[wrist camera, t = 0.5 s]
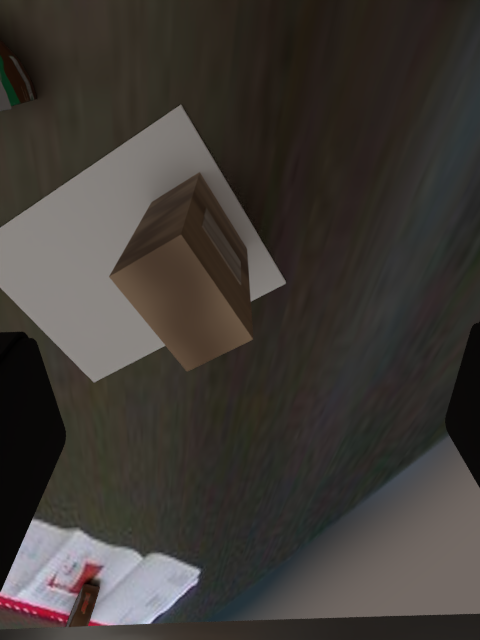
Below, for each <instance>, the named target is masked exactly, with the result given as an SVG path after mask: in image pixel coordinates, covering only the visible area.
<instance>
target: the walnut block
mask: <svg viewBox="0 0 480 640" xmlns="http://www.w3.org/2000/svg"><path fill="white" fill-rule="evenodd" d="M109 278H110V279H111V280H112V281H113V282H114V284H115V285H116V286H117V287H118V289H119V290H120V291H121V292H122V293H123V295H124V296H125V297H126V298H127V299H128V301H129V302H130V303H131V304H132V305H133V307H134V308H135V309H136V310H137V312H138V313H139V314H140V315H141V316H142V318H143V319H144V320H145V321H146V322H147V324H148V325H149V326H150V327H151V329H152V330H153V331H154V332H155V333H156V335H157V336H158V337H159V338H160V339H161V341H162V342H163V343H164V344H165V345H166V347H167V348H168V349H169V350H170V352H171V353H172V354H173V355H174V356H175V358H176V359H177V360H178V361H179V362H180V364H181V365H182V366H183V367H184V369H185V370H186V371H189V370H191V369H193V368H195V367H198V366H200V365H202V364H204V363H206V362H208V361H210V360H212V359H214V358H216V357H218V356H220V355H222V354H224V353H226V352H228V351H230V350H232V349H234V348H236V347H238V346H240V345H242V344H245V343H247V342H249V341H251V340H253V329H252V314H251V299H250V284H249V269H248V254H247V248H246V246H245V245H244V243H243V241H242V240H241V238H240V236H239V235H238V233H237V232H236V230H235V228H234V227H233V225H232V224H231V222H230V220H229V219H228V217H227V215H226V214H225V212H224V211H223V209H222V207H221V206H220V204H219V202H218V201H217V199H216V198H215V196H214V194H213V193H212V191H211V189H210V188H209V186H208V185H207V183H206V181H205V180H204V178H203V176H202V175H201V173H200V172H199V173H197V174H196V175H194V176H192V177H191V178H189V179H188V180H186V181H184V182H183V183H181V184H180V185H178V186H176V187H175V188H173V189H172V190H170V191H168V192H167V193H165V194H164V195H162V196H160V197H159V198H157V199H156V200H154V201H152V202H151V204H150V206H149V207H148V209H147V211H146V213H145V214H144V216H143V218H142V220H141V221H140V223H139V225H138V227H137V228H136V230H135V232H134V234H133V235H132V237H131V239H130V241H129V242H128V244H127V246H126V248H125V249H124V251H123V253H122V255H121V256H120V258H119V260H118V262H117V263H116V265H115V267H114V269H113V270H112V272H111V274H110V276H109Z"/></svg>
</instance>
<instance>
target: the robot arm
mask: <svg viewBox="0 0 480 640" xmlns="http://www.w3.org/2000/svg"><path fill="white" fill-rule="evenodd" d="M445 423H446V428H447V432H448V434H449V436H450V437H451V439H452V441H453V442H454V444H455V446H456V447H457V449H458V451H459V453H460V455H461V456H462V458H463V460H464V461H465V463H466V465H467V467H468V468H469V470H470V472H471V474H472V475H473V477H474V479H475V480H476V482H477V484H478V486H479V487H480V322H479V323H476V324H474V325H473V326H472V328H471V331H470V335H469V338H468V341H467V345H466V348H465V352H464V355H463V359H462V362H461V366H460V369H459V372H458V376H457V379H456V383H455V386H454V390H453V393H452V396H451V400H450V403H449V407H448V410H447V414H446V418H445ZM65 440H66V431H65V427H64V424H63V421H62V418H61V415H60V411H59V408H58V405H57V402H56V399H55V396H54V393H53V390H52V387H51V384H50V381H49V378H48V375H47V372H46V369H45V366H44V363H43V360H42V357H41V354H40V351H39V348H38V345H37V342H36V341H35V340H34V339H33V338H28V336H27V335H26V333H24V332H1V333H0V592H1V590H2V587H3V585H4V583H5V580H6V578H7V576H8V574H9V571H10V569H11V567H12V564H13V562H14V560H15V557H16V555H17V553H18V551H19V548H20V546H21V544H22V541H23V539H24V537H25V534H26V532H27V530H28V528H29V525H30V523H31V521H32V518H33V516H34V514H35V512H36V509H37V507H38V505H39V502H40V500H41V498H42V495H43V493H44V491H45V489H46V486H47V484H48V482H49V479H50V477H51V475H52V472H53V470H54V468H55V466H56V463H57V461H58V459H59V456H60V454H61V452H62V450H63V447H64V444H65ZM0 640H480V614H459V615H458V614H457V615H419V616H418V615H417V616H382V617H349V618H318V619H286V620H285V619H284V620H253V621H226V622H192V623H164V624H137V625H110V626H83V627H56V628H29V629H4V630H0Z"/></svg>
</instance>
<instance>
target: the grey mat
mask: <svg viewBox="0 0 480 640" xmlns="http://www.w3.org/2000/svg"><path fill="white" fill-rule="evenodd" d="M199 172H200V173H201V175H202V176H203V178H204V180H205V181H206V183H207V185H208V186H209V188H210V189H211V191H212V193H213V194H214V196H215V198H216V199H217V201H218V202H219V204H220V206H221V207H222V209H223V211H224V212H225V214H226V215H227V217H228V219H229V220H230V222H231V224H232V225H233V227H234V228H235V230H236V232H237V233H238V235H239V236H240V238H241V240H242V241H243V243H244V245H245V246H246V248H247V254H248V269H249V284H250V299H251V301H253V300H255V299H257V298H259V297H260V296H262V295H264V294H266V293H268V292H270V291H272V290H274V289H276V288H278V287H280V286H282V285H284V284H286V281H285V279H284V277H283V276H282V274H281V272H280V271H279V269H278V267H277V266H276V264H275V262H274V260H273V259H272V257H271V255H270V254H269V252H268V250H267V249H266V247H265V245H264V244H263V242H262V240H261V238H260V237H259V235H258V233H257V232H256V230H255V228H254V227H253V225H252V223H251V222H250V220H249V218H248V216H247V215H246V213H245V211H244V210H243V208H242V206H241V205H240V203H239V201H238V200H237V198H236V196H235V194H234V193H233V191H232V189H231V188H230V186H229V184H228V183H227V181H226V179H225V178H224V176H223V174H222V172H221V171H220V169H219V167H218V166H217V164H216V162H215V161H214V159H213V157H212V156H211V154H210V152H209V150H208V149H207V147H206V145H205V144H204V142H203V140H202V139H201V137H200V135H199V134H198V132H197V130H196V128H195V127H194V125H193V123H192V122H191V120H190V118H189V117H188V115H187V113H186V112H185V110H184V108H183V106H182V105H180V106H178V107H177V108H175V109H174V110H172V111H171V112H169V113H168V114H166V115H165V116H163V117H162V118H161V119H159V120H158V121H156V122H155V123H153V124H152V125H150V126H149V127H147V128H146V129H144V130H143V131H141V132H140V133H139V134H137V135H136V136H134V137H133V138H131V139H130V140H128V141H127V142H125V143H124V144H122V145H121V146H119V147H118V148H117V149H115V150H114V151H112V152H111V153H109V154H108V155H106V156H105V157H103V158H102V159H100V160H99V161H97V162H96V163H95V164H93V165H92V166H90V167H89V168H87V169H86V170H84V171H83V172H81V173H80V174H78V175H77V176H75V177H74V178H72V179H71V180H70V181H68V182H67V183H65V184H64V185H62V186H61V187H59V188H58V189H56V190H55V191H53V192H52V193H50V194H49V195H48V196H46V197H45V198H43V199H42V200H40V201H39V202H37V203H36V204H34V205H33V206H31V207H30V208H28V209H27V210H26V211H24V212H23V213H21V214H20V215H18V216H17V217H15V218H14V219H12V220H11V221H9V222H8V223H6V224H5V225H4V226H2V227H1V228H0V288H1V289H2V290H3V291H4V292H5V293H6V294H7V295H8V296H9V297H10V298H11V299H12V300H13V301H14V302H15V303H16V304H17V305H18V306H19V307H20V308H21V309H22V310H23V311H24V312H25V313H26V314H27V315H28V316H29V317H30V318H31V319H32V320H33V321H34V322H35V323H36V324H37V325H38V326H39V327H40V328H41V329H42V330H43V331H44V332H45V333H46V334H47V335H48V336H49V337H50V339H51V340H52V341H53V342H54V343H55V344H56V345H57V346H58V347H59V348H60V349H61V350H62V351H63V352H64V353H65V354H66V355H67V356H68V357H69V358H70V359H71V360H72V361H73V362H74V363H75V364H76V365H77V366H78V367H79V368H80V369H81V370H82V371H83V372H84V373H85V374H86V375H87V376H88V377H89V378H90V379H91V380H92V381H93V382H96V381H98V380H100V379H102V378H103V377H105V376H107V375H109V374H111V373H113V372H115V371H117V370H119V369H121V368H123V367H125V366H127V365H129V364H131V363H133V362H134V361H136V360H138V359H140V358H142V357H144V356H146V355H148V354H150V353H152V352H154V351H156V350H158V349H160V348H162V347H164V346H165V344H164V343H163V342H162V341H161V339H160V338H159V337H158V336H157V335H156V333H155V332H154V331H153V330H152V329H151V327H150V326H149V325H148V324H147V322H146V321H145V320H144V319H143V318H142V316H141V315H140V314H139V313H138V312H137V310H136V309H135V308H134V307H133V305H132V304H131V303H130V302H129V301H128V299H127V298H126V297H125V296H124V295H123V293H122V292H121V291H120V290H119V289H118V287H117V286H116V285H115V284H114V282H113V281H112V280H111V279H110V278H109V276H110V274H111V272H112V270H113V269H114V267H115V265H116V263H117V262H118V260H119V258H120V256H121V255H122V253H123V251H124V249H125V248H126V246H127V244H128V242H129V241H130V239H131V237H132V235H133V234H134V232H135V230H136V228H137V227H138V225H139V223H140V221H141V220H142V218H143V216H144V214H145V213H146V211H147V209H148V207H149V206H150V204H151V202H152V201H154V200H156V199H157V198H159V197H160V196H162V195H164V194H165V193H167V192H168V191H170V190H172V189H173V188H175V187H176V186H178V185H180V184H181V183H183V182H184V181H186V180H188V179H189V178H191V177H192V176H194V175H196V174H197V173H199Z"/></svg>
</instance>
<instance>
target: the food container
mask: <svg viewBox="0 0 480 640" xmlns="http://www.w3.org/2000/svg"><path fill="white" fill-rule="evenodd" d="M35 99H37V96H36V93H35V90H34V87H33V83H32V81H31V79H30V77H29V76H28V74H27V72H26V70H25V69H24V67H23V65H22V63H21V62H20V60H19V59H18V58H17V57H16V56H15V55H14V54H13V52H12V51H11V50H10V49H9V48H8V47H7V46H6V45H5V44H4V43H3V42H2V41H1V40H0V111H2V110H8V109H12V108H11V106H14V105H17V104H21V103H24V102H28V101H31V100H35Z"/></svg>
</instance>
